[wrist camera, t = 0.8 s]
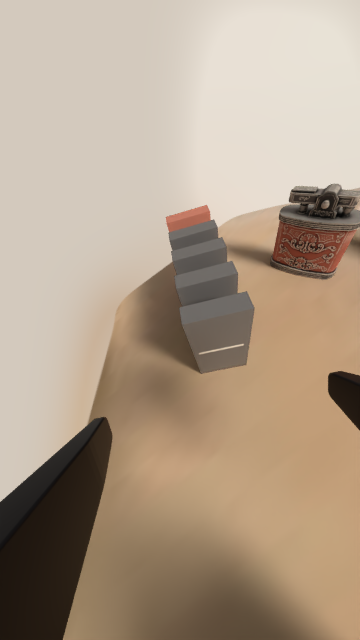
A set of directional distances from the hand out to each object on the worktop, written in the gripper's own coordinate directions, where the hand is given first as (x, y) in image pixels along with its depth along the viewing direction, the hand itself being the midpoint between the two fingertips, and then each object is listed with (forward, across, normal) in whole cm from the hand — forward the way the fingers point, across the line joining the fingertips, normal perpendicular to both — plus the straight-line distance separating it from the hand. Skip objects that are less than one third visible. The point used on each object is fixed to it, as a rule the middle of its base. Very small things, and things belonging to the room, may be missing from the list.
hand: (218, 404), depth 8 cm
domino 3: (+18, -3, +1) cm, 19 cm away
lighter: (+20, -17, -3) cm, 27 cm away
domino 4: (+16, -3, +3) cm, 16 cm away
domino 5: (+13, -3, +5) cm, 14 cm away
